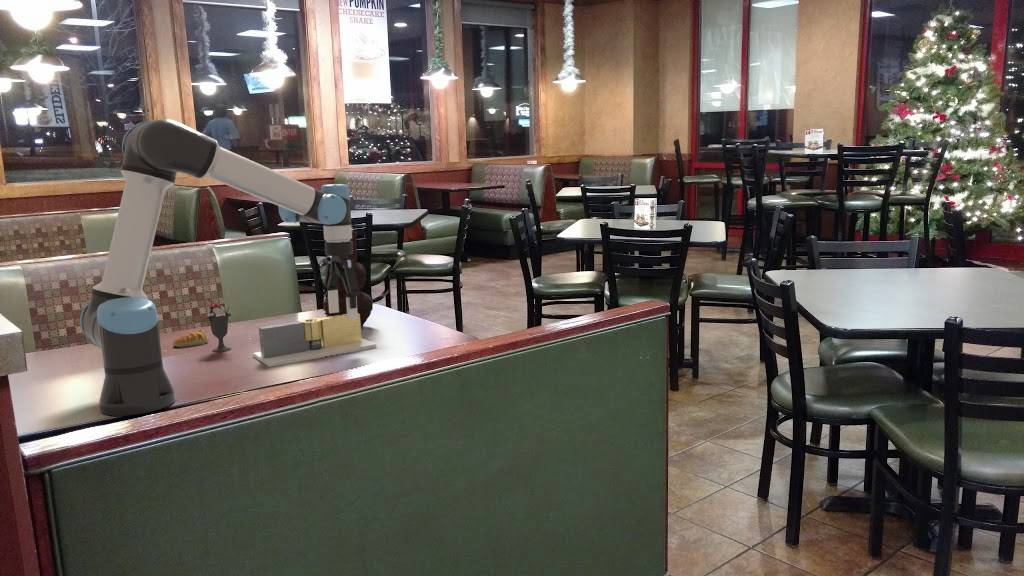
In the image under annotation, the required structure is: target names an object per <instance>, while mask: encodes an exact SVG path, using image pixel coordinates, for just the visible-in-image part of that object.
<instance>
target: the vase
mask: <svg viewBox="0 0 1024 576" xmlns="http://www.w3.org/2000/svg"><path fill="white" fill-rule="evenodd" d="M358 233H359V232H357V231H355V230H353V231H352V238H351V239H350V241H352V242H353V253H352V254H351V255H348V260H353V262H354V269H355V274H356V278H357V282H358V286H359V290H360V295H357V296H356V297H357V313H358V314H360V324H361V329H362V328H364V325H365V323H366V322H367V320H368V318H369V317H370V316H371V313H372V311H373V308H374V306H373V304H374V301H373V299H372V297H371V295H370V294H369V293H366V292H364V291H362V290H363V289H364V287H365V285H366V280H367V270H366V269H365V267H364V265H363V264H362V263H360V262H358V250H357V249H358V246H357V240H358V239H357V237H358ZM325 273H326V271H325ZM325 273H324V274H325ZM337 286H338V289H335V290H338V303H339V312H337V313H329V303H328V296H327V297H326V298H324V301H323V302H322V304H323V305H322V307H323V309H322V311H324V313H323V314H324V315H325V317H330V316H336V315H343V314H347V304H346V297H345V296H346V294H347V293H346V290H345V287H344V284H343V281H342V278H341V277H339V280H338V284H337Z"/></svg>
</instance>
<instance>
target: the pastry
mask: <svg viewBox="0 0 1024 576" xmlns="http://www.w3.org/2000/svg"><path fill="white" fill-rule="evenodd" d="M207 343H209V338H208V335H207V334H206V331H205V330H203V329H200V330H197V331H190V332H188V333H185V334H183V335H181V336H179V337H177V338H176V339H174V340H173V342H172V346H173V347H178V348H185V347H193V346H199V345H203V344H207Z"/></svg>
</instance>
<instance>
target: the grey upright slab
mask: <svg viewBox="0 0 1024 576" xmlns="http://www.w3.org/2000/svg"><path fill="white" fill-rule="evenodd" d="M312 321H316V320H315V319H313V320H310V322H312ZM258 332H259V333H258V336H259V345H260V347H259V348H260V352H261V357H263V358H271V357H277V356H283V355H288V354H294V353H300V352H305V351H308V350H319V349H322V342H321V339H318V340H304V332H303V323H302V322H301V320H299V321H289V322H284V323H279V324H278V323H277V324H270V325H265V326H259V327H258Z"/></svg>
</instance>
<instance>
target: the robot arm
mask: <svg viewBox="0 0 1024 576" xmlns="http://www.w3.org/2000/svg"><path fill="white" fill-rule="evenodd" d="M121 152H122V156H123V160H122V163H121V169H120V173H121V174H122V176H123V178H124V179H125V183H124V188H123V192H122V195H121V199H120V205H119V209H118V213H117V216H116V222H115V225H114V229H113V234H112V238H111V242H110V246H109V251H108V255H107V260H106V263H105V266H104V267H105V268H104V272H103V275H102V280H101V282H99V283H98V284H96V285H94V286H93V287H92V289H91V294H90V298H89V302H88V303H87V304H86V305H85V307H84V308H83V310H81V314H80V320H79V321H80V322H79V323H80V328H81V332H82V333H83V335H84V337H85V338H86V339H87V340H88V342H90V343H91V344H92V345H93V346H95V347H97V348H100V349H101V353H102V361H103V367H104V379H103V383H102V388H101V393H100V398H99V403H98V404H99V410H100V413H102V414H104V415H106V416H111V417H115V416H117V417H119V416H121V417H123V416H124V417H126V416H133V415H135V416H137V415H141V414H147V413H151V412H155V411H158V410H162V409H164V408H167V407H169V406H171V405H172V404H173V403H175V402H176V394H175V389H174V387H173V385H172V383H171V381H170V378H169V376H168V375H167V372H166V371H165V369H164V365H163V364H164V363H163V355H162V346H161V338H160V337H161V336H160V335H161V334H160V327H159V314H158V311H157V307H156V305H155V303H154V302H153V301H151V300H150V299H148V295H146V293H145V291H144V290H143V287H144V283H145V278H146V274H147V271H148V266H149V262H150V257H151V253H152V249H153V245H154V241H155V237H156V231H157V228H158V224H159V220H160V219H159V218H160V216H161V210H162V206H163V202H164V197H165V194H166V191H167V190H168V189H169V188H171V187H173V186H175V181H176V178H177V174H178V173H181V174H186V175H189V176H192V177H194V178H197V179H199V180H202V179H204V178H209V179H211V180H214V181H216V182H219V183H221V184H224V185H226V186H229V187H231V188H234V189H235V190H238V191H241V192H243V193H246V194H248V195H251V196H253V197H255V198H258V199H260V200H263V201H266V202H268V203H271V204H274V206H277V207H278V214H279V217H280V218H281V220H282V221H283V222H285V223H289V224H291V223H293V224H297V223H310V224H311V223H313V224H323V239H324V240H325V243H324V252H325V253H324V254H325V256H326V265H325V272H326V273H324V274H325V275H324V283H323V287H324V288H326V290H327V297H328V303H329V313H337V312H339V303H338V290H335V289H338V286H337V284H338V280H339V277H341V278H342V281H343V284H344V287H345V290H346V293H347V294H346V296H345V297H346V304H347V320H348V321H350V320H357V319H358V314H357V297H356V296H357V295H360V291H361V290H359V286H358V282H357V278H356V274H355V269H354V262H353V260H348V255H351V254H352V253H353V242H352V241H350V239H351V238H352V232H354V228H353V227H352V215H351V214H352V213H351V210H352V209H351V195H350V194H351V193H350V188H349V186H348V185H347V184H345V183H344V184H343V183H342V184H341V183H337V184H335V183H334V184H331V183H330V184H323V185H321V187H320V190H319V189H317V188H315V187H312V186H310V185H308V184H306V183H304V182H302V181H299V180H297V179H294V178H291V177H289V176H288V175H285V174H282V173H280V172H278V171H276V170H274V169H272V168H269V167H267V166H265V165H262V164H261V163H259V162H256V161H253V160H250V159H249V158H247V157H244V156H241V155H240V154H238V153H236V152H233V151H230V150H228V149H226V148H224V147H221V146H220V145H219V143H218V141H217V140H216V139H215V138H212V137H210V136H208V135H206V134H204V133H203V132H200V131H198V130H196V129H193V128H192V127H189V126H187V125H186V124H184V123H182V122H180V121H176V120H173V119H167V118H160V119H155V120H145V121H142V122H138V123H137V124H135V125H133V126H131V127H130V129H128V130H127V132H126V133H125V135H124V136H123V138H122V143H121Z"/></svg>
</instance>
